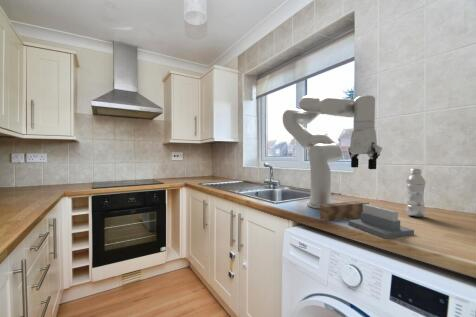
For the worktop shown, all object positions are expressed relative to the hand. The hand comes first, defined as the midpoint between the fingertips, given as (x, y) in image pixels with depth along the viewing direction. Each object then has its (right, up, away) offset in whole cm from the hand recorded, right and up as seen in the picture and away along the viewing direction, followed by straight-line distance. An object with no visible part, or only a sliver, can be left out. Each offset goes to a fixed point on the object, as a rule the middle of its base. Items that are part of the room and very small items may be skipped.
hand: (363, 168), depth 93 cm
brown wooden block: (-7, -21, +1) cm, 22 cm away
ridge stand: (-2, -21, -14) cm, 25 cm away
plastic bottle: (+23, -21, +2) cm, 31 cm away
